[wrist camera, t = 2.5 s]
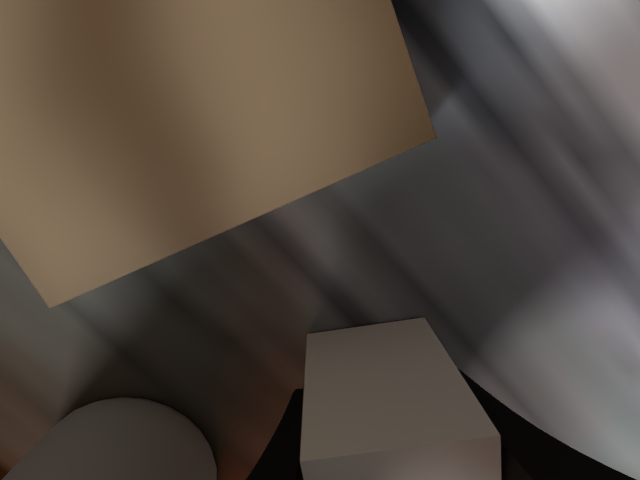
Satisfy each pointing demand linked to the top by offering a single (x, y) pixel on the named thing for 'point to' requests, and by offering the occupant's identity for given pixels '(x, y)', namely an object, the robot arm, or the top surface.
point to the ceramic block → (391, 409)
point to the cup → (120, 445)
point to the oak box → (184, 122)
